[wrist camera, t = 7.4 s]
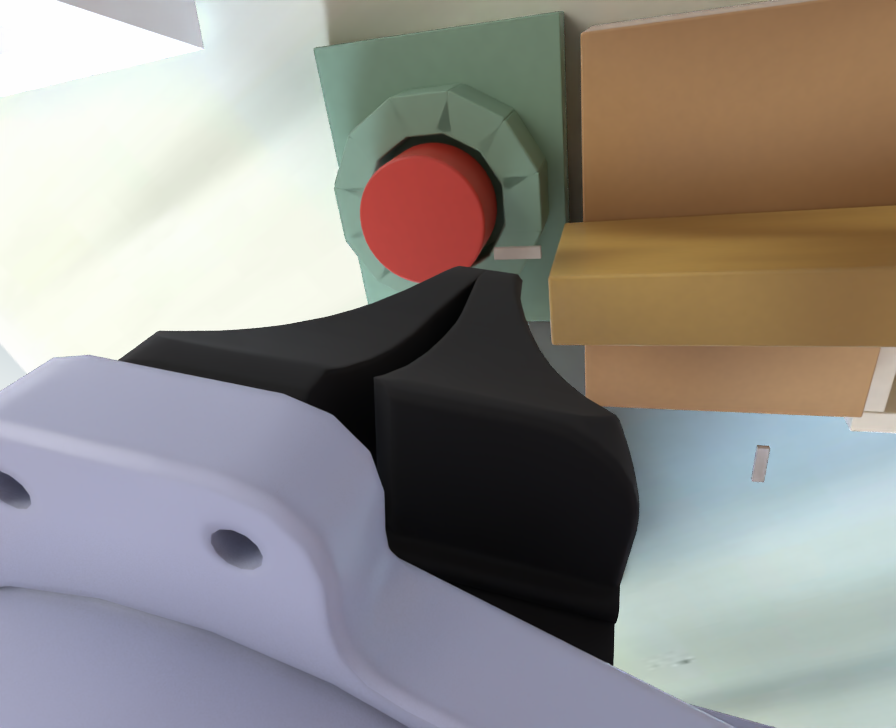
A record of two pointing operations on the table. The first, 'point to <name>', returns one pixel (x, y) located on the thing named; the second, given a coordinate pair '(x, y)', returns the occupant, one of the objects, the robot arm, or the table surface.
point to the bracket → (89, 38)
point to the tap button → (428, 211)
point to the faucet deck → (737, 173)
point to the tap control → (459, 131)
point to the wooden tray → (879, 397)
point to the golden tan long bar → (728, 280)
